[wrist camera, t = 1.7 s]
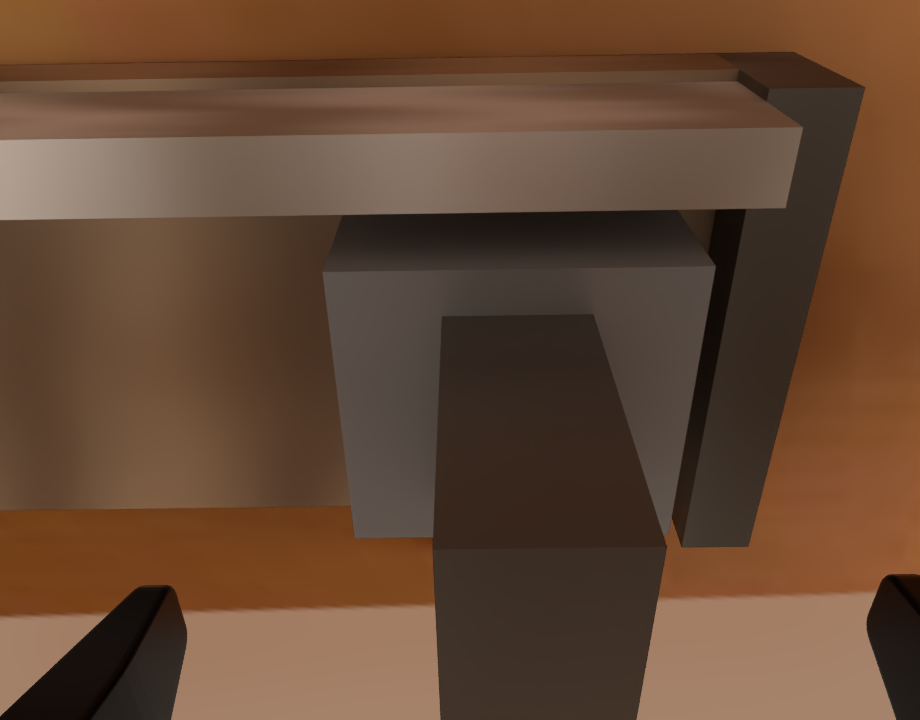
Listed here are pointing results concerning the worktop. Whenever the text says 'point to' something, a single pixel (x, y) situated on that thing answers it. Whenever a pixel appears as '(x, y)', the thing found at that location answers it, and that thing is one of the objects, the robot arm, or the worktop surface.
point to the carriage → (523, 435)
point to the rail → (357, 193)
